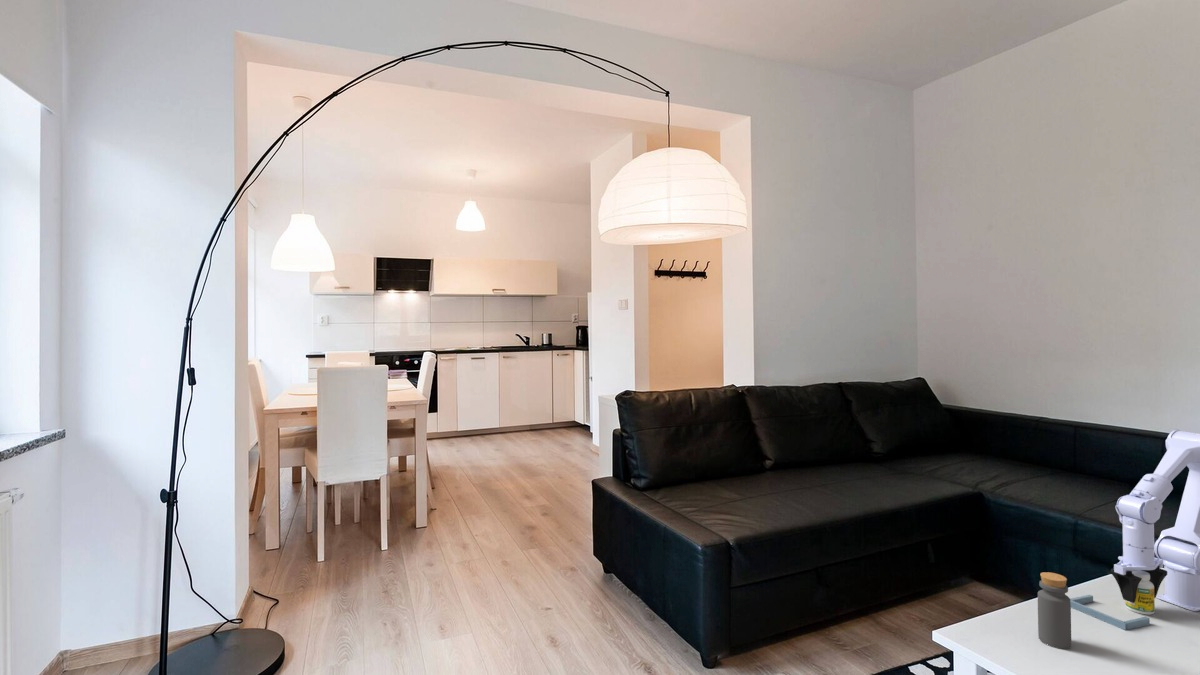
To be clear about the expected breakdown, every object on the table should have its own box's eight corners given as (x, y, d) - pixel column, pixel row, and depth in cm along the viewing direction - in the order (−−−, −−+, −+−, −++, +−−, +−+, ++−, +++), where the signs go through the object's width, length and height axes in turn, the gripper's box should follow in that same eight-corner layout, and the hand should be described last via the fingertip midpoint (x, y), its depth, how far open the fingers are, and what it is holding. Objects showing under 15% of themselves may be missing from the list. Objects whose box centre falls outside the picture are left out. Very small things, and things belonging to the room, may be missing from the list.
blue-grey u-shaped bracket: (1089, 600, 146) (1089, 594, 146) (1149, 624, 133) (1149, 618, 133) (1066, 605, 143) (1066, 599, 143) (1125, 630, 131) (1125, 623, 131)
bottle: (1059, 635, 129) (1057, 571, 129) (1078, 649, 123) (1076, 582, 123) (1032, 634, 130) (1031, 570, 130) (1050, 648, 124) (1048, 581, 124)
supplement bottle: (1141, 605, 143) (1140, 567, 143) (1161, 615, 137) (1160, 576, 137) (1119, 604, 143) (1118, 567, 143) (1138, 615, 138) (1137, 576, 138)
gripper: (1139, 535, 146) (1140, 587, 146) (1099, 542, 142) (1100, 595, 142) (1173, 545, 139) (1174, 599, 139) (1132, 552, 135) (1133, 608, 135)
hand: (1139, 598), depth 140 cm, fingers open, 7 cm apart
